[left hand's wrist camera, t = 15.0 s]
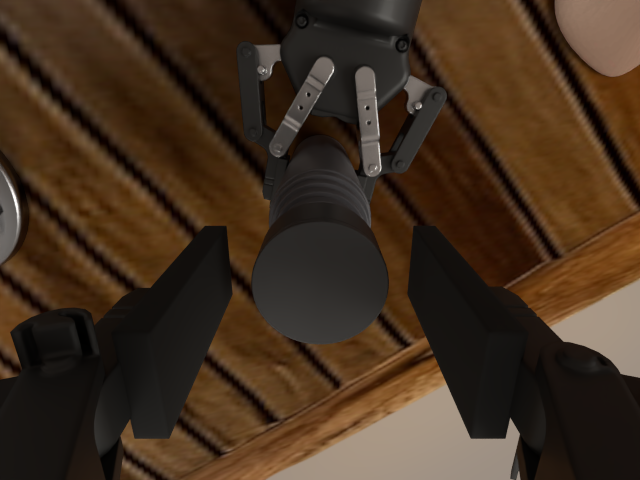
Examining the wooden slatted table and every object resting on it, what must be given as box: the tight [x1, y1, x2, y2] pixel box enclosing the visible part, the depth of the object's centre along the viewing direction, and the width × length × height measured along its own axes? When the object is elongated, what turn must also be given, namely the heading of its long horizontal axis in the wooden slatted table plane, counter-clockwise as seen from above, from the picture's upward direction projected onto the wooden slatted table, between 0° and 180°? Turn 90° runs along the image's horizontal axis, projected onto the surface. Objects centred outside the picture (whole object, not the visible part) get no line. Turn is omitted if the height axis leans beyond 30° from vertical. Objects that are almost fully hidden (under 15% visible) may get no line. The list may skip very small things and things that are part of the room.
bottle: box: [269, 135, 371, 228], centre depth 23 cm, size 5×5×23 cm
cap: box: [251, 202, 389, 344], centre depth 13 cm, size 4×4×2 cm
